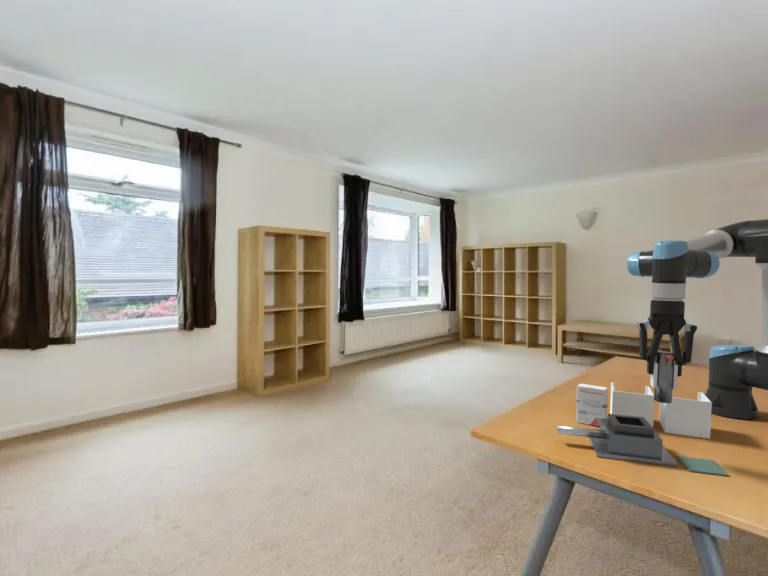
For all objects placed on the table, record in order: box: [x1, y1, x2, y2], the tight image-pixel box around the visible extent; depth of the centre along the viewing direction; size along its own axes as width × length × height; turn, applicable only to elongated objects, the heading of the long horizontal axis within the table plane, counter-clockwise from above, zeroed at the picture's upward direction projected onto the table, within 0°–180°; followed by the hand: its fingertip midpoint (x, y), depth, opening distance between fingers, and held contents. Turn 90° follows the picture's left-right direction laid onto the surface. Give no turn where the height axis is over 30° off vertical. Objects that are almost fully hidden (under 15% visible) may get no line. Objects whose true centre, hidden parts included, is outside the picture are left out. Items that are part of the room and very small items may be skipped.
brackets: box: [609, 381, 712, 440], centre depth 132 cm, size 25×11×11 cm, turn 64°
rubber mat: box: [676, 455, 730, 478], centre depth 105 cm, size 8×8×1 cm
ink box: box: [575, 383, 609, 428], centre depth 133 cm, size 9×5×12 cm, turn 55°
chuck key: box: [653, 349, 675, 403], centre depth 112 cm, size 4×9×13 cm, turn 164°
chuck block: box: [556, 413, 678, 467], centre depth 115 cm, size 27×14×8 cm, turn 73°
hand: (663, 387), depth 112 cm, fingers closed on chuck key, 4 cm apart
